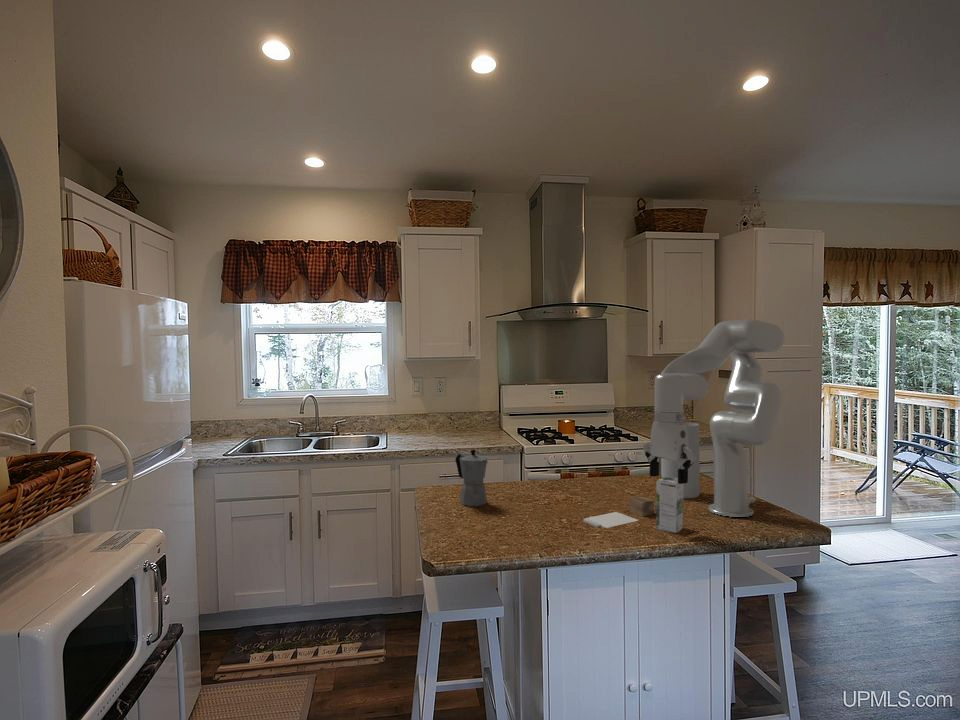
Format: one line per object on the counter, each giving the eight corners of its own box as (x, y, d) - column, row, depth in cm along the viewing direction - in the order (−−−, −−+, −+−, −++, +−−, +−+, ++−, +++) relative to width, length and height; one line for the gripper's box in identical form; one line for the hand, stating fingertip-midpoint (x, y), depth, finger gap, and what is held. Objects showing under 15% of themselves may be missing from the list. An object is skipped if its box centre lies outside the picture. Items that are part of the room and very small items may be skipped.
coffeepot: (497, 503, 168) (496, 450, 168) (476, 509, 162) (476, 453, 162) (466, 495, 179) (466, 444, 179) (446, 500, 173) (445, 448, 173)
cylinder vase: (655, 494, 178) (654, 424, 178) (672, 488, 186) (671, 420, 186) (689, 501, 169) (688, 427, 169) (706, 494, 177) (705, 423, 177)
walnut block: (641, 512, 158) (641, 496, 158) (654, 516, 153) (653, 500, 153) (629, 514, 155) (629, 498, 155) (642, 519, 151) (642, 502, 151)
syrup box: (663, 526, 144) (662, 475, 144) (684, 530, 140) (683, 478, 140) (655, 531, 140) (655, 479, 140) (677, 536, 136) (677, 482, 136)
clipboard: (615, 512, 157) (615, 508, 157) (645, 523, 146) (645, 519, 146) (575, 521, 149) (575, 516, 149) (604, 533, 139) (604, 528, 139)
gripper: (704, 420, 134) (704, 484, 134) (653, 414, 149) (653, 472, 149) (685, 421, 130) (685, 487, 130) (635, 415, 146) (634, 474, 145)
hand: (668, 479), depth 140 cm, fingers open, 9 cm apart
